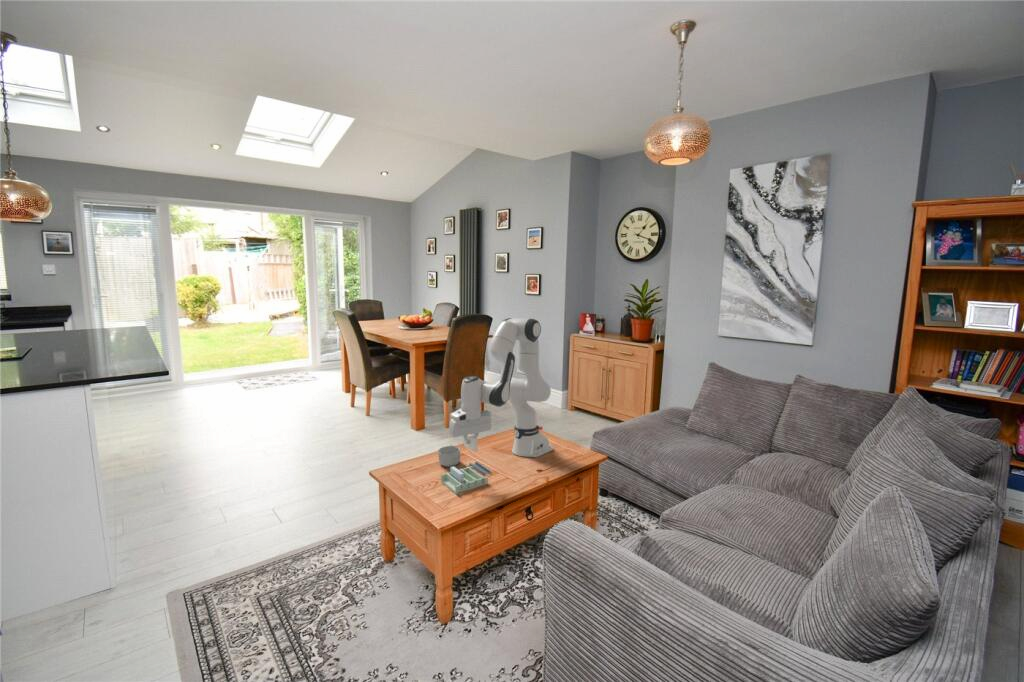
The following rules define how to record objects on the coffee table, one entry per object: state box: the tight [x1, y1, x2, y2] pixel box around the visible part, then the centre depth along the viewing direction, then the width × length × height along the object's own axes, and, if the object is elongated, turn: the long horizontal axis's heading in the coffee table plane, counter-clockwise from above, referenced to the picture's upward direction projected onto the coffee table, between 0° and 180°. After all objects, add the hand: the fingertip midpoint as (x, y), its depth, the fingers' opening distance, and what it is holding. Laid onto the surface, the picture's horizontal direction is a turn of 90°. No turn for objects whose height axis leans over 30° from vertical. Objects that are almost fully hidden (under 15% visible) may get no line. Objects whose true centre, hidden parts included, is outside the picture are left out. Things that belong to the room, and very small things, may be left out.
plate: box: [463, 434, 479, 452], centre depth 203 cm, size 2×9×6 cm, turn 35°
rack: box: [440, 466, 489, 495], centre depth 203 cm, size 16×14×7 cm
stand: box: [468, 460, 492, 476], centre depth 217 cm, size 5×13×2 cm, turn 35°
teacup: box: [437, 444, 461, 468], centre depth 224 cm, size 14×11×8 cm
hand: (470, 442), depth 203 cm, fingers closed on plate, 2 cm apart
